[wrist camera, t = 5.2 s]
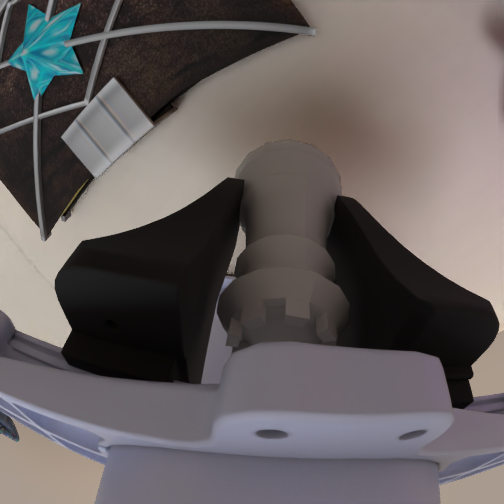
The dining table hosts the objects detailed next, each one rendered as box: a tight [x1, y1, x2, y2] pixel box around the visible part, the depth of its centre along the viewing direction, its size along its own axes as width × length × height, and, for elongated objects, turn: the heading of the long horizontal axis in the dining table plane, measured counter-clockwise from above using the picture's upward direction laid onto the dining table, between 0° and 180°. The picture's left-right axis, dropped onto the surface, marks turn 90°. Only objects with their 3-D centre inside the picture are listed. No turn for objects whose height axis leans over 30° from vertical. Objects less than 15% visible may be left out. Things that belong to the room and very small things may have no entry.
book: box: [0, 0, 316, 241], centre depth 11 cm, size 22×17×5 cm
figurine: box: [0, 411, 19, 442], centre depth 50 cm, size 20×18×18 cm
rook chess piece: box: [216, 140, 350, 355], centre depth 10 cm, size 4×4×8 cm
